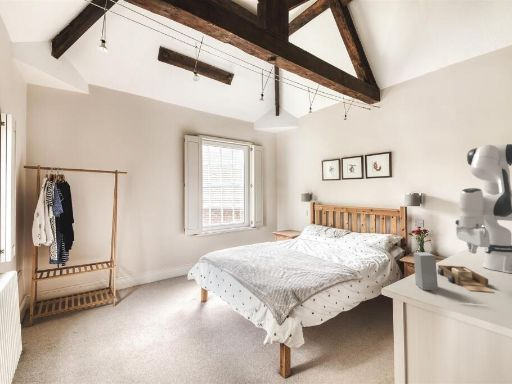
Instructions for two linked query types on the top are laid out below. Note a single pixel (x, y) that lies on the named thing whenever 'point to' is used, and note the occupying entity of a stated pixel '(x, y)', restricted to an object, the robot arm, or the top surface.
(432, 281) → the skincare box
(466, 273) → the block
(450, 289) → the top surface
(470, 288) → the tailgate
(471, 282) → the cart bed
